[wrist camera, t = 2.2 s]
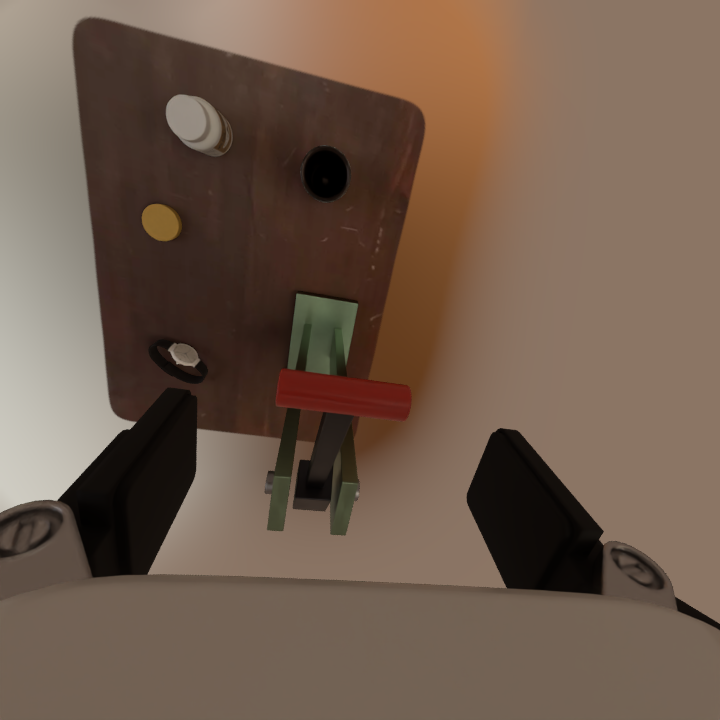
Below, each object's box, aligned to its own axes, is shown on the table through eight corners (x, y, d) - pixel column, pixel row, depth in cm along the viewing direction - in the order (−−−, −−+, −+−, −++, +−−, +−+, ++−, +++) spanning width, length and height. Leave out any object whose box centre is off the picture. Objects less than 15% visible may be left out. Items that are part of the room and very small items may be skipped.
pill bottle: (237, 154, 39) (217, 143, 32) (198, 159, 39) (169, 149, 32) (227, 107, 37) (203, 84, 30) (186, 111, 37) (152, 89, 30)
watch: (217, 362, 49) (208, 373, 45) (198, 385, 50) (189, 398, 46) (166, 328, 46) (153, 338, 43) (147, 353, 47) (134, 364, 44)
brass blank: (138, 212, 40) (134, 212, 39) (168, 197, 40) (164, 197, 39) (159, 245, 42) (156, 246, 41) (188, 231, 42) (185, 232, 41)
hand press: (297, 290, 45) (251, 417, 18) (357, 300, 47) (397, 434, 20) (287, 372, 50) (238, 570, 23) (342, 379, 51) (357, 576, 24)
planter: (316, 151, 39) (312, 134, 30) (352, 171, 40) (359, 161, 31) (300, 191, 41) (292, 187, 31) (336, 209, 42) (338, 211, 32)
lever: (283, 350, 13) (272, 406, 12) (410, 368, 14) (414, 423, 12) (277, 471, 24) (270, 507, 23) (347, 477, 25) (345, 513, 24)
